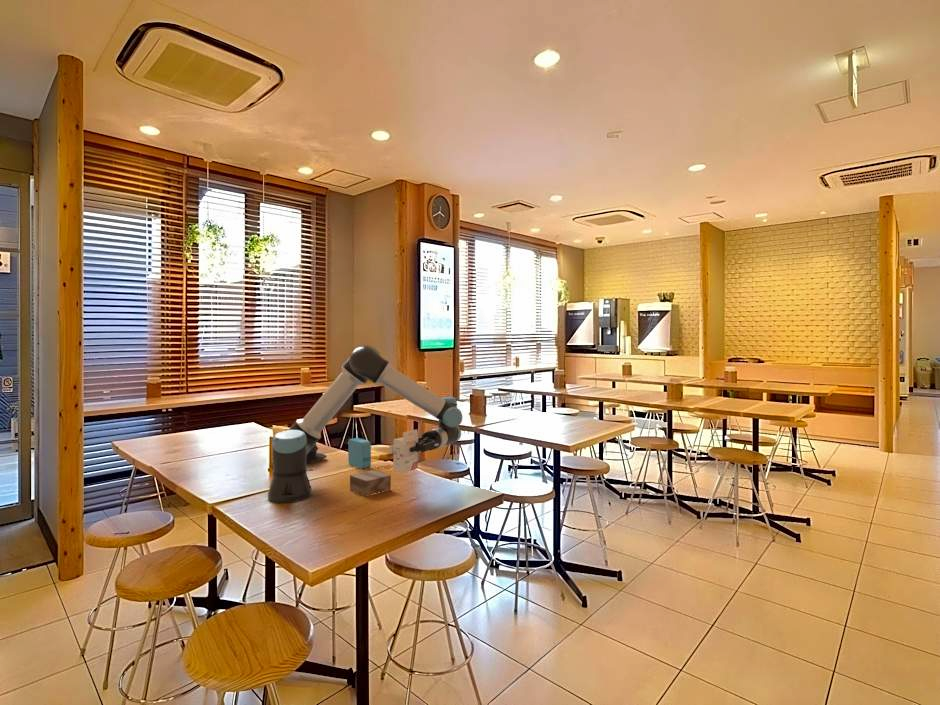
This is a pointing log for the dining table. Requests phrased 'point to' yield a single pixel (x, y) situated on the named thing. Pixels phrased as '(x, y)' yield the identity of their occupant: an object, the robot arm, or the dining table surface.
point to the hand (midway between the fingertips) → (396, 450)
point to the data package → (359, 453)
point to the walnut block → (370, 482)
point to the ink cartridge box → (405, 461)
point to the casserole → (314, 455)
